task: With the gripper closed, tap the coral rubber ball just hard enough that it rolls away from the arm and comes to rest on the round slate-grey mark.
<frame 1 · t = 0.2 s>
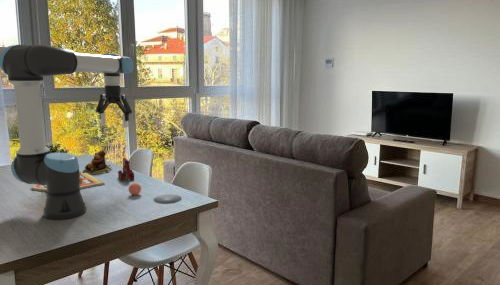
hand: (114, 126, 193), 28 cm above the table, tool pointing down, fingers open, 13 cm apart
knob puzzle: (65, 185, 187), on the table
toy fire truck: (126, 179, 198), on the table
ball: (134, 188, 172), on the table
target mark: (167, 199, 167), on the table
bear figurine: (97, 171, 212), on the table
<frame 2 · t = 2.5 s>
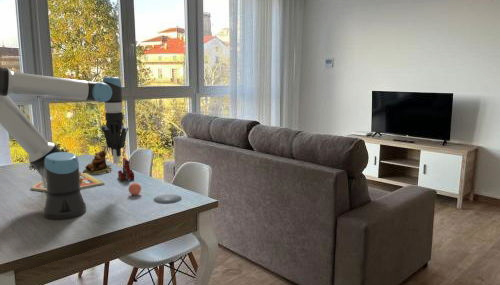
hand: (116, 162, 173), 14 cm above the table, tool pointing down, fingers closed
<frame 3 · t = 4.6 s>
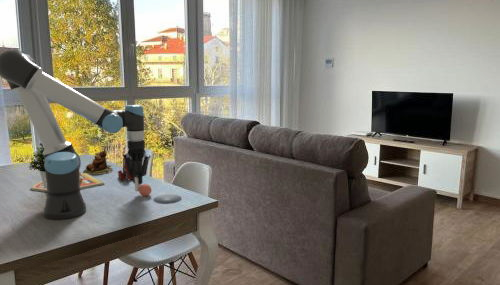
hand: (138, 190, 172), 2 cm above the table, tool pointing down, fingers closed
ball: (145, 190, 171), on the table
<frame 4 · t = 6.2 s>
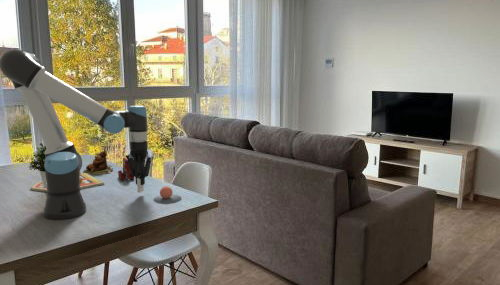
hand: (140, 191, 171), 2 cm above the table, tool pointing down, fingers closed
ball: (166, 192, 168), on the table
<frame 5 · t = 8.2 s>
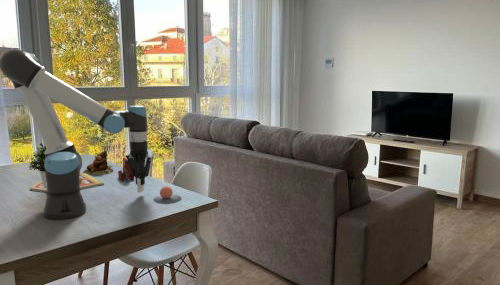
hand: (140, 191, 171), 2 cm above the table, tool pointing down, fingers closed
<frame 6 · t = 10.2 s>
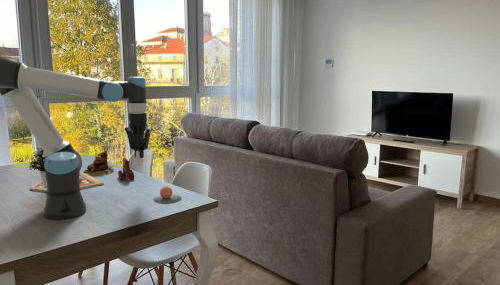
hand: (139, 164, 169), 14 cm above the table, tool pointing down, fingers closed
knob puzzle: (64, 185, 187), on the table, touching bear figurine
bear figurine: (99, 172, 211), on the table, touching knob puzzle
everything else where it was.
at the end: ball 1.0 cm from the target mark (horizontally); ball at rest at the end (0.0 cm/s); ball moved 16.1 cm from its start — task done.
